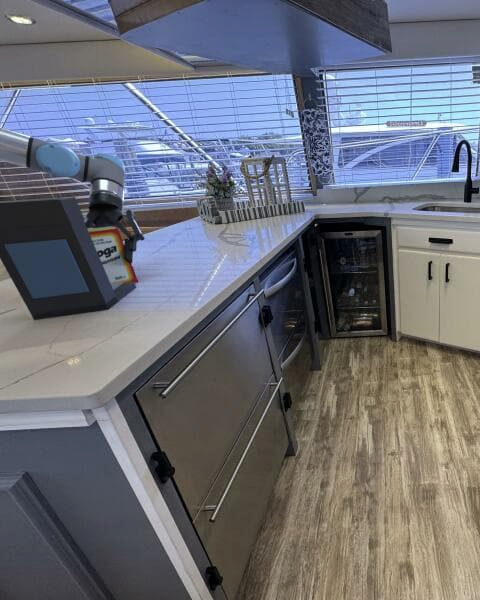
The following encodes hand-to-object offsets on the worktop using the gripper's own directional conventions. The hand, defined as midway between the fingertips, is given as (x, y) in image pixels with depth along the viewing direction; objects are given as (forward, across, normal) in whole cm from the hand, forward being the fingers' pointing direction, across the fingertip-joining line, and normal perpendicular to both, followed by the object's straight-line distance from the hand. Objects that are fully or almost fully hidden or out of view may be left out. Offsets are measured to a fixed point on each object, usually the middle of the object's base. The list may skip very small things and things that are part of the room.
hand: (102, 263), depth 88 cm
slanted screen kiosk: (+13, 0, +3) cm, 13 cm away
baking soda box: (+3, 0, -7) cm, 8 cm away
